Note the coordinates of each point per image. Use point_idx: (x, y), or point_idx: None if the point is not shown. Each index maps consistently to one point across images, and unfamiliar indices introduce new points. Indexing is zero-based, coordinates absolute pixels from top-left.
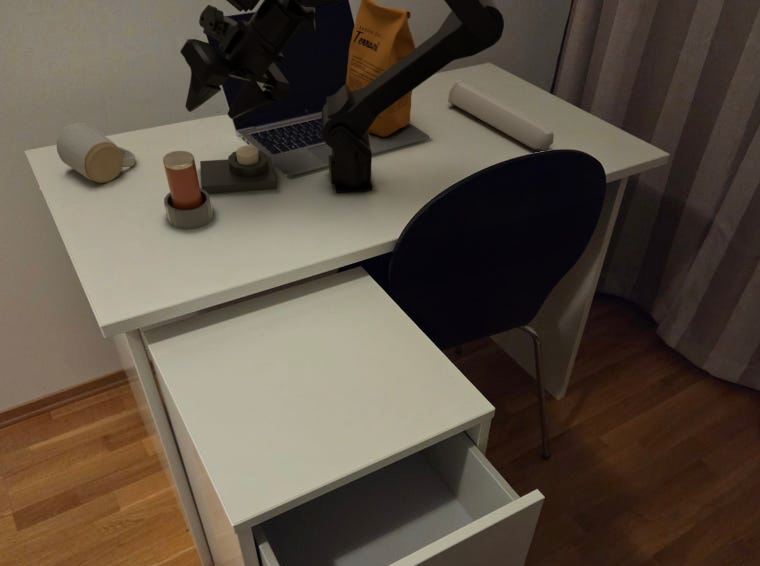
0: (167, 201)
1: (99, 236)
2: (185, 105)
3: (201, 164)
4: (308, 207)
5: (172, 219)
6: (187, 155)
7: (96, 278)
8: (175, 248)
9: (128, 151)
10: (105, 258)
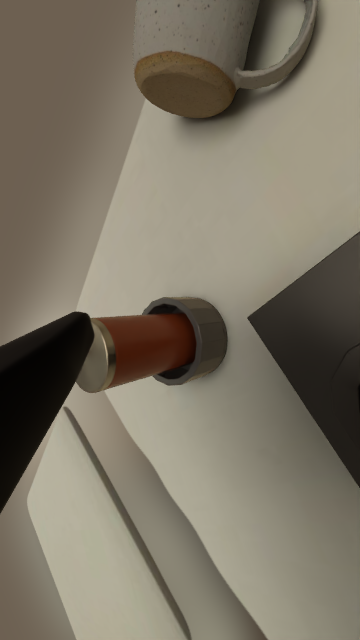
0: (149, 312)
1: (118, 247)
2: (72, 313)
3: (341, 249)
4: (338, 577)
5: None
6: (97, 370)
7: (82, 304)
8: None
9: (311, 5)
10: (100, 288)
